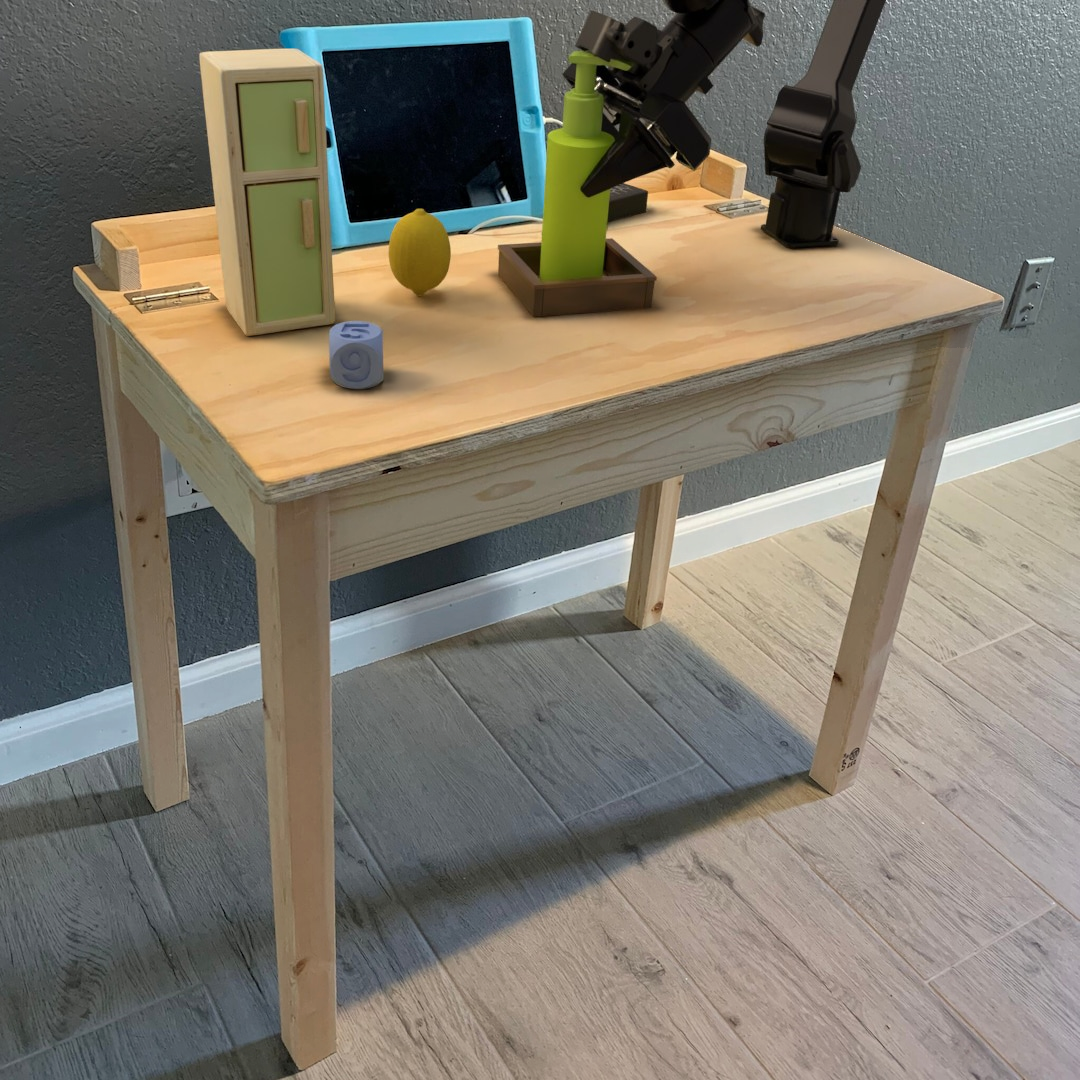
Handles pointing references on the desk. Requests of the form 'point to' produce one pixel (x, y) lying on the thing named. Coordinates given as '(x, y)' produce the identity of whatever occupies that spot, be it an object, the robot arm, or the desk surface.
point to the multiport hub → (626, 201)
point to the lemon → (419, 252)
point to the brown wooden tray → (576, 282)
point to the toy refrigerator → (270, 186)
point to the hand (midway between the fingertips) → (568, 183)
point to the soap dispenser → (576, 180)
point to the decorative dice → (356, 354)
